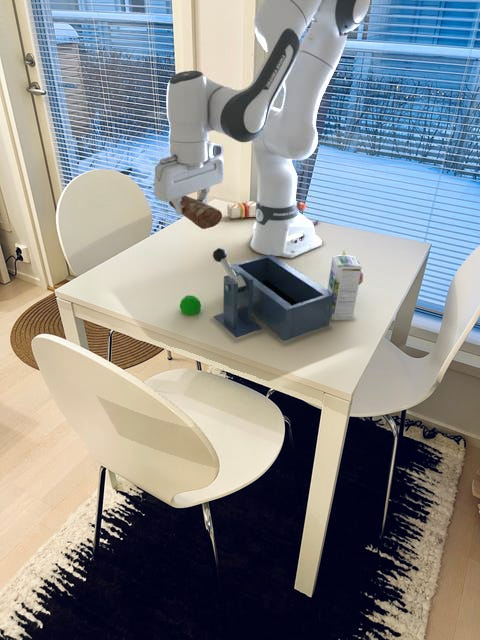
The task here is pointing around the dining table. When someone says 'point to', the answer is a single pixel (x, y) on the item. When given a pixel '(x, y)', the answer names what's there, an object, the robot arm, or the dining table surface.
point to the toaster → (285, 297)
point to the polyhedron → (190, 305)
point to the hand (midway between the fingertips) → (191, 209)
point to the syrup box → (344, 286)
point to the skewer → (242, 210)
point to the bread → (200, 212)
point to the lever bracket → (238, 318)
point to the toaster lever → (229, 268)
